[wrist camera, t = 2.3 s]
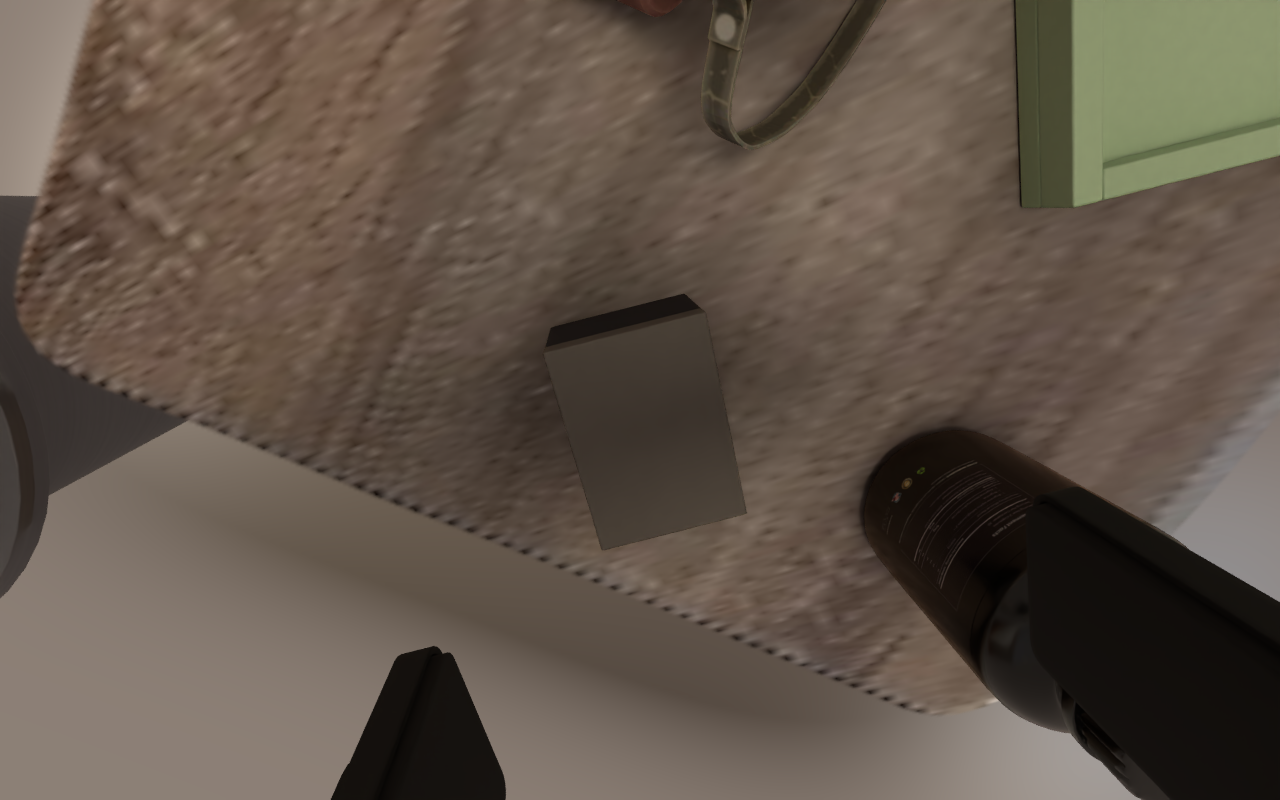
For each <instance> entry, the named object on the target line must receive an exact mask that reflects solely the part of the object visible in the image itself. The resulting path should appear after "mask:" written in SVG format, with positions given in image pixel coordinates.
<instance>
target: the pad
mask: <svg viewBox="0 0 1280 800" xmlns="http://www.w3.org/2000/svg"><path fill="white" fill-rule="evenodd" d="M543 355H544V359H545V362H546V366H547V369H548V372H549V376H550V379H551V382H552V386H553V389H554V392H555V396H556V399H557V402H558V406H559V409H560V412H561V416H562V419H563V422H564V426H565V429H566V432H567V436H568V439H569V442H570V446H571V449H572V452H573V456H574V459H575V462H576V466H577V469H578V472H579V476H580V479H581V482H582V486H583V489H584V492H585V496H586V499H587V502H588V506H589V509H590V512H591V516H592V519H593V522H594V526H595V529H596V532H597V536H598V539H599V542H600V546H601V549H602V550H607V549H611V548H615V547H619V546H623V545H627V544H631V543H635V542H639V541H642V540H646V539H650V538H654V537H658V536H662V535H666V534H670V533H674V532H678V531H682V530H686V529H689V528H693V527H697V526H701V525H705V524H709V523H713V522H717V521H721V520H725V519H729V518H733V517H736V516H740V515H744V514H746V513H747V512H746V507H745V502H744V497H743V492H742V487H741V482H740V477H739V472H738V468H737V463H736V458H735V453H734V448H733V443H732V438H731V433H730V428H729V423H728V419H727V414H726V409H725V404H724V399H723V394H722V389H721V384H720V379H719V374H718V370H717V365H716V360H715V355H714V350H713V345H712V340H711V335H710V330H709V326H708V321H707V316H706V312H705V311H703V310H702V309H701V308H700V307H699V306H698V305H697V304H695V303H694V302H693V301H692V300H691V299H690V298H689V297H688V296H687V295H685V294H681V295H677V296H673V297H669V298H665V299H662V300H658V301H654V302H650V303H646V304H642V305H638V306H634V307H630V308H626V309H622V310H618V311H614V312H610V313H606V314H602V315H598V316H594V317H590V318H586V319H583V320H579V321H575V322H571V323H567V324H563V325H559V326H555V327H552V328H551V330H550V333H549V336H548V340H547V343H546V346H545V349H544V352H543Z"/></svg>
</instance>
